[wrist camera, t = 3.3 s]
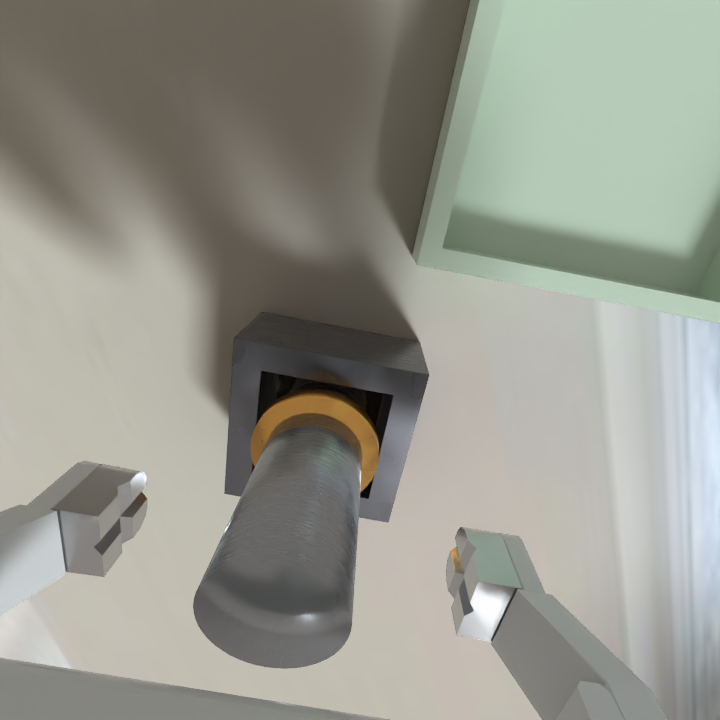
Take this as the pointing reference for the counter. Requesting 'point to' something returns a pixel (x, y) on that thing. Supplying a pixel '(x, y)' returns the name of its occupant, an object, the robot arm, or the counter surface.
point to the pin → (293, 532)
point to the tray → (583, 152)
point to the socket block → (335, 366)
